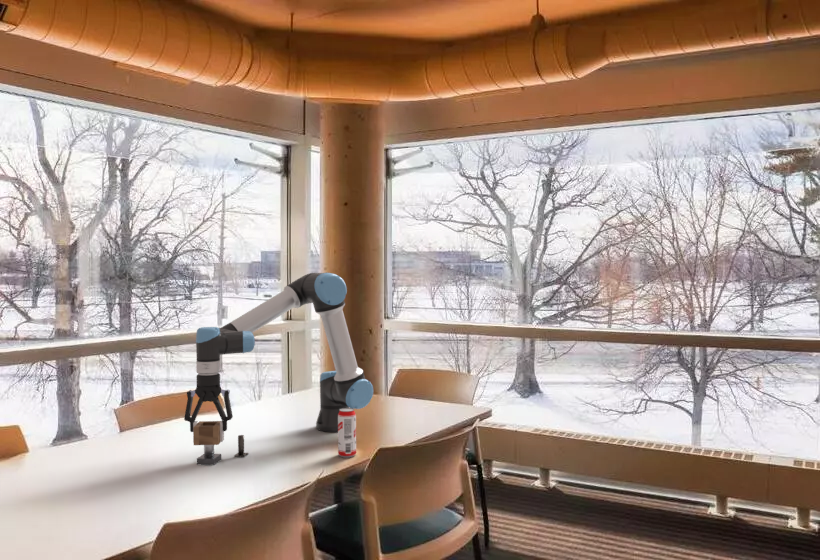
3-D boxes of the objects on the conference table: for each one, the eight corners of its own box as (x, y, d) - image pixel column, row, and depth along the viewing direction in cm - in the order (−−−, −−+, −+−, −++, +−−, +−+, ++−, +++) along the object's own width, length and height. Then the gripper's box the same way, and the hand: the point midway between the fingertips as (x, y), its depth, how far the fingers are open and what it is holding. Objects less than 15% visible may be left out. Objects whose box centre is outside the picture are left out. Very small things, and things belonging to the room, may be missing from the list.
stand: (238, 454, 228) (238, 434, 228) (248, 454, 227) (248, 434, 227) (234, 457, 224) (234, 436, 224) (244, 457, 224) (244, 437, 224)
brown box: (199, 438, 222) (199, 421, 222) (223, 438, 223) (223, 420, 223) (193, 445, 214) (193, 427, 214) (218, 444, 215) (218, 426, 215)
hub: (204, 459, 222) (204, 430, 222) (221, 459, 221) (221, 430, 221) (196, 464, 216) (196, 435, 216) (214, 465, 215) (213, 435, 215)
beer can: (339, 458, 222) (339, 412, 221) (336, 453, 228) (336, 408, 227) (357, 457, 223) (357, 410, 223) (354, 452, 229) (354, 407, 229)
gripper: (173, 375, 214) (173, 444, 214) (237, 374, 215) (238, 443, 216) (179, 372, 221) (180, 438, 222) (241, 371, 223) (242, 437, 223)
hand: (208, 441), depth 219 cm, fingers closed on brown box, 8 cm apart
